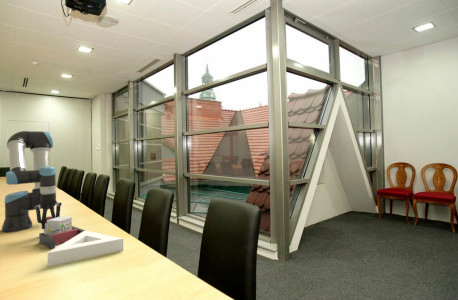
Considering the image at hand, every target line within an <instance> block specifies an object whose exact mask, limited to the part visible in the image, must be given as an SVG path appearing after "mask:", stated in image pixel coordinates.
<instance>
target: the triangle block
mask: <svg viewBox="0 0 458 300" xmlns="http://www.w3.org/2000/svg"><path fill="white" fill-rule="evenodd" d="M121 251H124V238H122V237H117V236H112V235H109V234H104V233H98V232H96V231H95V232H93V231H91V230H85V231H83V232H82V233H80V234H78V235H77V236H75V237H73V238H72V239H70V240H68V241H66V242H62V243H61V244H60V245H59V246H57V247H55V248H54V249H51V250H50V251H48V253H47V267H52V266H55V265H61V264H66V263H71V262H75V261H80V260H83V259H84V260H85V259H90V258H94V257H95V258H96V257H99V256H103V255H108V254H112V253H116V252H121Z"/></svg>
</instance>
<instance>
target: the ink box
mask: <svg viewBox="0 0 458 300" xmlns="http://www.w3.org/2000/svg"><path fill="white" fill-rule="evenodd" d="M72 226H73V218H72V216H60V217H57V218H53V219H50V220H47V235H48V236H51V235H54V234H58V233H62V232H66V231H70V230H72Z"/></svg>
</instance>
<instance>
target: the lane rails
mask: <svg viewBox="0 0 458 300" xmlns="http://www.w3.org/2000/svg"><path fill="white" fill-rule="evenodd" d="M74 229H77V232H78V234H80V233H82V232H83V231H86V230H85V229H82V228H80V227H77V226H74V225H72V230H74ZM38 236H39V237H38V239H39V240H38V241H39V244H40V245H43V246H45V247H47V248H49V249H51V250H53V249H55V248H56V244H55V238H53V237H51V236H48V235H46V234H44V232H41V233H40V232H39V235H38Z"/></svg>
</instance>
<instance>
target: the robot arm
mask: <svg viewBox="0 0 458 300" xmlns="http://www.w3.org/2000/svg"><path fill="white" fill-rule="evenodd" d="M6 142H7V143H6V148H7V150H8V155H9V157H8V159H9V171H6V173H5V182H6V184H7V185H11V186H12V185H23V184H34V187H33V188H32V189H31V192H29V191H28V190H19V191H16V192H11V193H8V194H7V195H4V202H3V203H4V214H5V215H4V219H3V220H4V221H3V223H2V226H1V232H2V233H13V232H19V231H24V230H28V229H30V228H32V227H33V221H32V219H31V217H30V215H29V214H30V213H29V212H30V211H35V213H36V222H37V223H38V224H40V225H41V229H42V230H43V233H44V234H46V235H47V223H45V221H46V217H47V213H48V210H49V212H50V217H53V218H57V217H61V207H62V202H58V201H57V190H56V187H57V186H56V174H57V173H56V167H55V166H50V161H49V160H50V159H49V155H50V154H49V152H50V151H51V149H52V148H53V147H54V141H53V136H52V134H51V132H49V131H42V130H41V131H37V130H35V131H32V130H31V131H30V130H29V131H27V130H23V131H18V132H16V133H14V134H12V135H11V136H10V137H9V138H8V139H7V141H6ZM25 149H29V150H30V152H31V153H32V154H33V155H32V157H33V158H32V159H33V170H27V164H26V162H27V161H26V155H25ZM55 206H56V207H55ZM41 210H42V215H41Z"/></svg>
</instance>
